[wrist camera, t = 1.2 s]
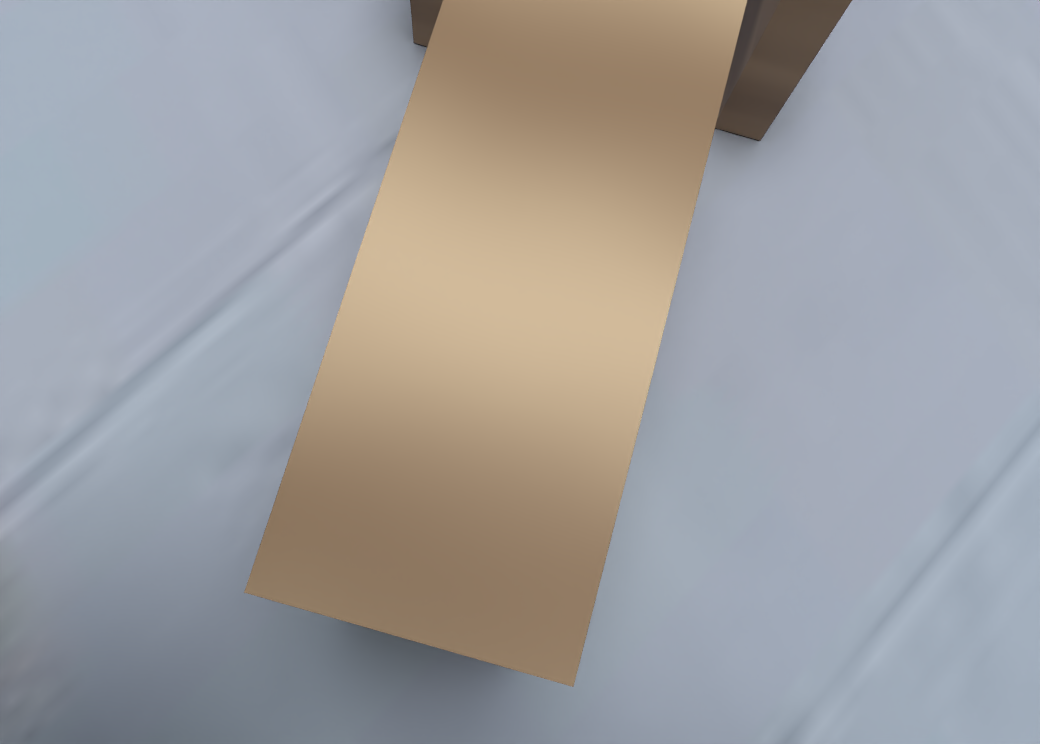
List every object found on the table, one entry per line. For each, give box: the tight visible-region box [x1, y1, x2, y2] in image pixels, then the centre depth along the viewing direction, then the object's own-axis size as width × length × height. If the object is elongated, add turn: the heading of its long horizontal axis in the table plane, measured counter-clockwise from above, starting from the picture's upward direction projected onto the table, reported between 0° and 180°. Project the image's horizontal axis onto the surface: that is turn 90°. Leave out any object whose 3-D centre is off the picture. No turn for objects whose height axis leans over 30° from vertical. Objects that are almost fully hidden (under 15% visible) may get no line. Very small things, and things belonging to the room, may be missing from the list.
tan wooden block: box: [244, 0, 747, 687], centre depth 18 cm, size 12×4×10 cm, turn 165°
